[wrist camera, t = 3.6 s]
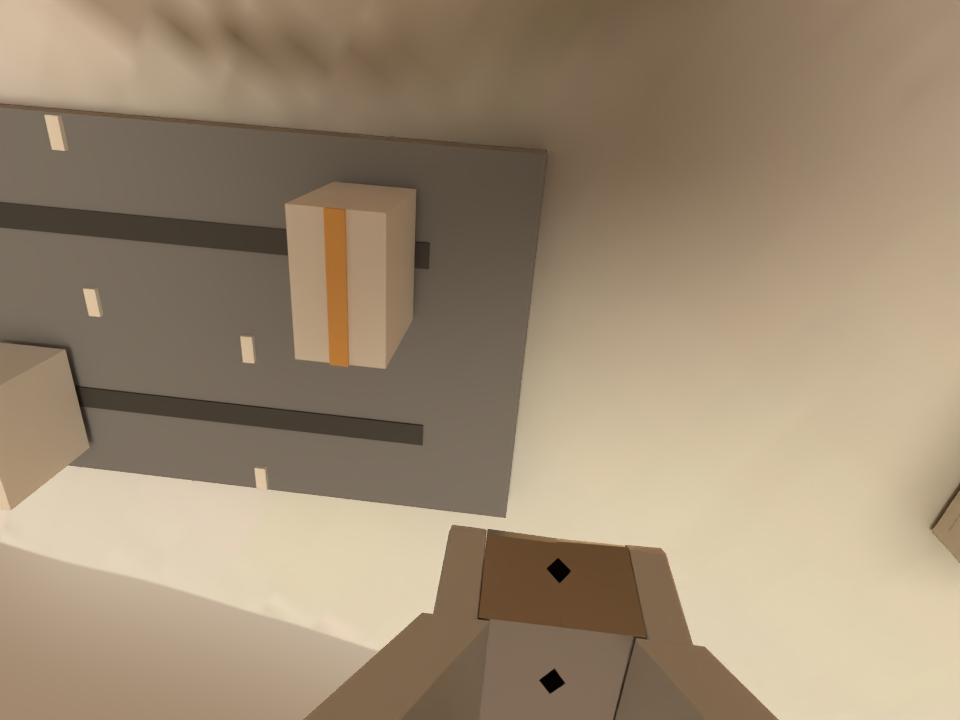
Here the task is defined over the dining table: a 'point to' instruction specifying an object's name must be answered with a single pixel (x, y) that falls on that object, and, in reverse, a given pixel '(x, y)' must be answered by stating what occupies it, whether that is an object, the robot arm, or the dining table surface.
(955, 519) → the small box
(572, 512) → the dining table surface
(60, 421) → the fader
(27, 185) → the console
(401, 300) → the fader
